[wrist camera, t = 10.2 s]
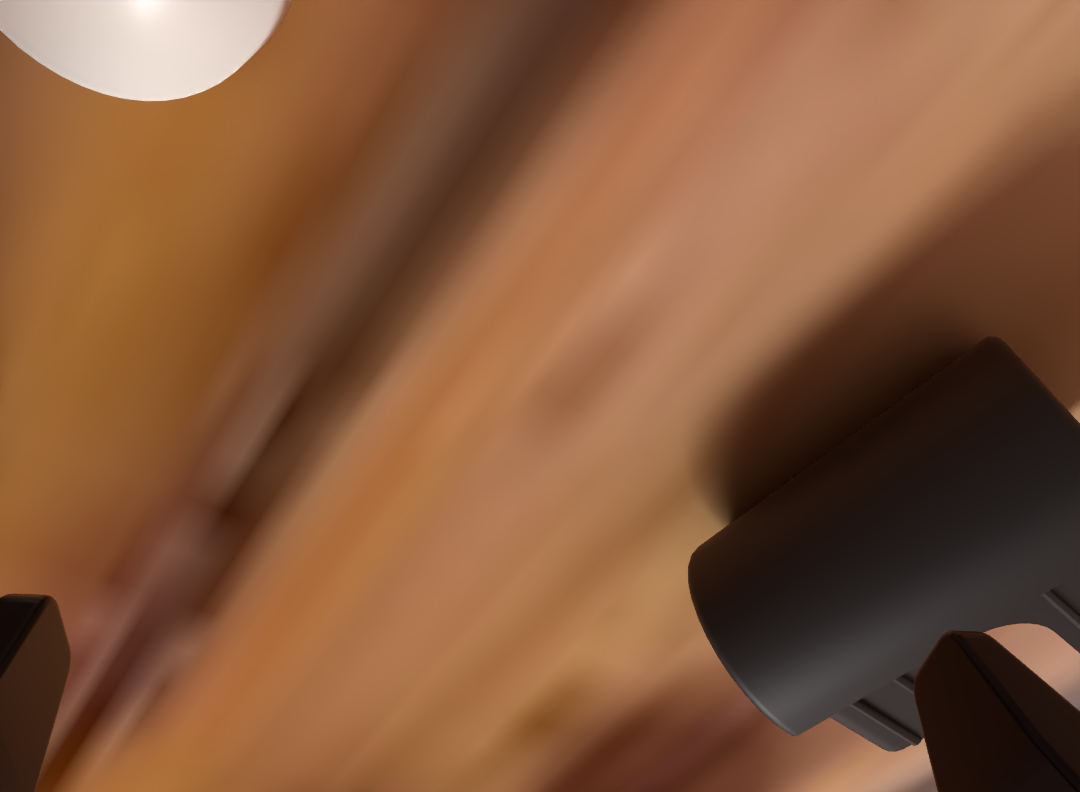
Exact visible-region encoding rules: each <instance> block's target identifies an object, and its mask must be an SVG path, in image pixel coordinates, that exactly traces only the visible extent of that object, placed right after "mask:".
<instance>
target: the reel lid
mask: <svg viewBox="0 0 1080 792" xmlns="http://www.w3.org/2000/svg"><path fill="white" fill-rule="evenodd" d="M291 2H292V0H0V31H1V32H2V33H3V34H5V35H6V36H7V37H8V38H9V39H10V40H11V41H12V42H13V43H14V44H16V45H17V46H18V47H19V48H20V49H22V50H23V51H24V52H26V53H27V54H28V55H29V56H31V57H32V58H33V59H35V60H36V61H37V62H39V63H40V64H42V65H44V66H45V67H47V68H48V69H50V70H52V71H53V72H55V73H57V74H58V75H60V76H62V77H64V78H66V79H68V80H70V81H72V82H74V83H76V84H78V85H80V86H83V87H86V88H89V89H91V90H94V91H97V92H100V93H102V94H106V95H111V96H115V97H119V98H123V99H132V100H140V101H166V100H172V99H178V98H184V97H188V96H191V95H194V94H197V93H200V92H203V91H205V90H207V89H209V88H211V87H213V86H215V85H217V84H219V83H221V82H222V81H223V80H225V79H226V78H228V77H229V76H230V75H232V74H233V73H235V72H236V71H237V70H238V69H239V68H240V67H241V66H242V65H243V64H244V63H245V62H246V61H247V60H249V59H250V58H251V57H252V56H253V55H254V54H255V53H256V52H257V51H258V50H259V49H260V48H261V47H262V46H263V45H264V44H265V43H266V42H267V41H268V40H269V39H270V38H271V37H272V35H273V34H274V33H275V31H276V30H277V29H278V27H279V26H280V24H281V23H282V21H283V19H284V17H285V15H286V13H287V11H288V9H289V7H290V5H291Z"/></svg>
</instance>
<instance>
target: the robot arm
mask: <svg viewBox="0 0 1080 792" xmlns="http://www.w3.org/2000/svg"><path fill="white" fill-rule="evenodd" d="M70 662H71V652H70V646H69V643H68V639H67V636H66V632H65V629H64V625H63V621H62V618H61V614H60V611H59V607H58V605H57V602H56V601H55V600H54V599H53V598H52V597H51V596H48V595H37V594H8V595H5V596H3V597H1V598H0V792H35V789H36V785H37V782H38V779H39V775H40V772H41V768H42V765H43V761H44V758H45V754H46V751H47V747H48V744H49V740H50V737H51V733H52V730H53V726H54V723H55V720H56V716H57V713H58V709H59V706H60V702H61V699H62V695H63V692H64V688H65V685H66V681H67V678H68V674H69V669H70ZM914 698H915V703H916V707H917V711H918V715H919V719H920V723H921V727H922V731H923V735H924V739H925V743H926V746H927V750H928V754H929V758H930V762H931V766H932V770H933V774H934V778H935V782H936V786H937V790H938V792H1080V711H1079V710H1078V709H1077V708H1076V707H1074V706H1073V705H1072V704H1071V703H1070V702H1068V701H1067V700H1066V699H1065V698H1064V697H1062V696H1061V695H1060V694H1059V693H1058V692H1057V691H1055V690H1054V689H1053V688H1052V687H1051V686H1049V685H1048V684H1047V683H1046V682H1045V681H1044V680H1042V679H1041V678H1040V677H1039V676H1038V675H1036V674H1035V673H1034V672H1033V671H1032V670H1030V669H1029V668H1028V667H1027V666H1026V665H1025V664H1023V663H1022V662H1021V661H1020V660H1019V659H1017V658H1016V657H1015V656H1014V655H1013V654H1011V653H1010V652H1009V651H1008V650H1007V649H1006V648H1004V647H1003V646H1002V645H1001V644H1000V643H998V642H997V641H996V640H995V639H994V638H992V637H991V636H989V635H987V634H985V633H982V632H977V631H955V630H953V631H948V632H946V633H944V634H943V635H942V636H941V637H940V638H939V640H938V641H937V643H936V644H935V646H934V648H933V649H932V651H931V652H930V654H929V655H928V657H927V658H926V660H925V661H924V663H923V664H922V666H921V668H920V669H919V671H918V672H917V674H916V677H915V680H914Z"/></svg>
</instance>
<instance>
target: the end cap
mask: <svg viewBox="0 0 1080 792" xmlns="http://www.w3.org/2000/svg"><path fill="white" fill-rule="evenodd" d="M688 583H689V589H690V594H691V598H692V601H693V604H694V607H695V610H696V613H697V616H698V618H699V621H700V623H701V625H702V627H703V630H704V632H705V634H706V636H707V638H708V640H709V642H710V644H711V645H712V647H713V649H714V651H715V653H716V654H717V656H718V658H719V659H720V661H721V662H722V664H723V665H724V667H725V668H726V670H727V671H728V673H729V674H730V676H731V677H732V678H733V680H734V681H735V682H736V683H737V685H738V686H739V687H740V689H741V690H742V691H743V692H744V694H745V695H746V696H747V697H748V698H749V699H750V700H751V701H752V702H753V703H754V705H755V706H756V707H757V708H758V709H759V710H760V711H761V712H762V713H763V714H764V715H765V716H767V717H768V718H769V719H770V720H771V721H772V722H773V723H774V724H776V725H777V726H779V727H780V728H781V729H783V730H784V731H786V732H787V733H789V734H790V735H793V736H797V735H799V734H801V733H803V732H805V731H806V730H808V729H810V728H811V727H813V726H815V725H817V724H818V723H820V722H822V721H824V720H825V719H827V718H829V717H831V718H832V719H834V720H836V721H837V722H839V723H841V724H842V725H844V726H846V727H847V728H849V729H851V730H852V731H854V732H856V733H857V734H859V735H861V736H862V737H864V738H865V739H867V740H869V741H870V742H872V743H874V744H875V745H877V746H879V747H880V748H882V749H884V750H887V751H895V752H896V751H899V750H902V749H904V748H906V747H908V746H910V745H911V744H912V745H914V746H915V745H918V744H919V743H920V742H921V740H922V739H923V738H924V735H923V731H922V727H921V723H920V719H919V715H918V711H917V707H916V703H915V698H914V680H915V677H916V674H917V672H918V671H919V669H920V668H921V666H922V664H923V663H924V661H925V660H926V658H927V657H928V655H929V654H930V652H931V651H932V649H933V648H934V646H935V644H936V643H937V641H938V640H939V638H940V637H941V636H942V635H943V634H944V633H946V632H948V631H953V630H955V631H977V632H982V633H983V632H986V631H988V630H991V629H994V628H997V627H1001V626H1005V625H1011V624H1018V623H1031V624H1039V625H1042V626H1045V627H1048V628H1050V629H1051V630H1053V631H1054V632H1055V633H1057V634H1058V635H1059V636H1060V637H1061V638H1063V639H1064V640H1065V641H1066V642H1067V643H1068V644H1070V645H1071V646H1072V647H1073V648H1074V649H1076V650H1077V651H1078V652H1079V653H1080V423H1079V422H1078V421H1077V420H1076V419H1075V418H1074V417H1073V416H1072V414H1071V413H1070V412H1069V411H1068V410H1067V409H1066V408H1065V407H1064V406H1063V405H1062V404H1061V402H1060V401H1059V400H1058V399H1057V398H1056V397H1055V396H1054V395H1053V394H1052V393H1051V392H1050V391H1049V389H1048V388H1047V387H1046V386H1045V385H1044V384H1043V383H1042V382H1041V381H1040V380H1039V379H1038V378H1037V376H1036V375H1035V374H1034V373H1033V372H1032V371H1031V370H1030V369H1029V368H1028V367H1027V366H1026V365H1025V364H1024V362H1023V361H1022V360H1021V359H1020V358H1019V357H1018V356H1017V355H1016V354H1015V353H1014V352H1013V351H1012V350H1011V349H1010V347H1009V346H1008V345H1007V344H1006V343H1005V342H1004V341H1002V340H1001V339H1000V338H997V337H987V338H985V339H983V340H982V341H981V342H979V343H978V344H976V345H975V346H974V347H972V348H971V349H970V350H968V351H967V352H965V353H964V354H963V355H961V356H960V357H959V358H957V359H956V360H954V361H953V362H952V363H950V364H949V365H948V366H946V367H945V368H943V369H942V370H941V371H939V372H938V373H937V374H935V375H934V376H932V377H931V378H930V379H928V380H927V381H926V382H924V383H923V384H921V385H920V386H919V387H917V388H916V389H915V390H913V391H912V392H910V393H909V394H908V395H906V396H905V397H904V398H902V399H901V400H899V401H898V402H897V403H895V404H894V405H893V406H891V407H890V408H888V409H887V410H886V411H884V412H883V413H882V414H880V415H879V416H877V417H876V418H875V419H873V420H872V421H871V422H869V423H868V424H866V425H865V426H864V427H862V428H861V429H860V430H858V431H857V432H855V433H854V434H853V435H851V436H850V437H849V438H847V439H846V440H845V441H843V442H842V443H840V444H839V445H838V446H836V447H835V448H834V449H832V450H831V451H829V452H828V453H827V454H825V455H824V456H823V457H821V458H820V459H818V460H817V461H816V462H814V463H813V464H812V465H810V466H809V467H807V468H806V469H805V470H803V471H802V472H801V473H799V474H798V475H796V476H795V477H794V478H792V479H791V480H790V481H788V482H787V483H785V484H784V485H783V486H781V487H780V488H779V489H777V490H776V491H774V492H773V493H772V494H770V495H769V496H768V497H766V498H765V499H763V500H762V501H761V502H759V503H758V504H757V505H755V506H754V507H752V508H751V509H750V510H748V511H747V512H746V513H744V514H743V515H741V516H740V517H739V518H737V519H736V520H735V521H733V522H732V523H730V524H729V525H728V526H726V527H725V528H724V529H722V530H721V531H719V532H718V533H717V534H715V535H714V536H713V537H711V538H710V539H708V540H707V541H706V542H704V543H703V544H702V545H700V546H699V547H698V548H697V549H696V550H695V552H694V553H693V554H692V556H691V559H690V562H689V566H688Z"/></svg>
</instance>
